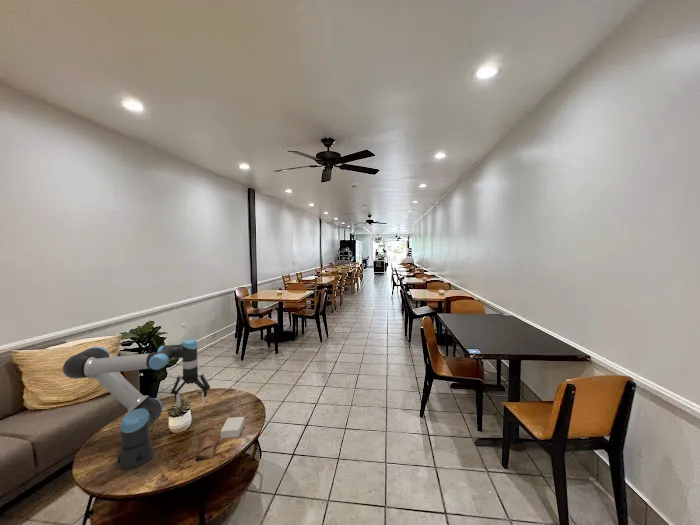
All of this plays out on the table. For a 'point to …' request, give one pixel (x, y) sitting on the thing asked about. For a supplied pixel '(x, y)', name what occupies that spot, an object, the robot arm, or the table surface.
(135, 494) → the table surface
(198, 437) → the table surface
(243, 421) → the block
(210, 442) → the sunglasses case
